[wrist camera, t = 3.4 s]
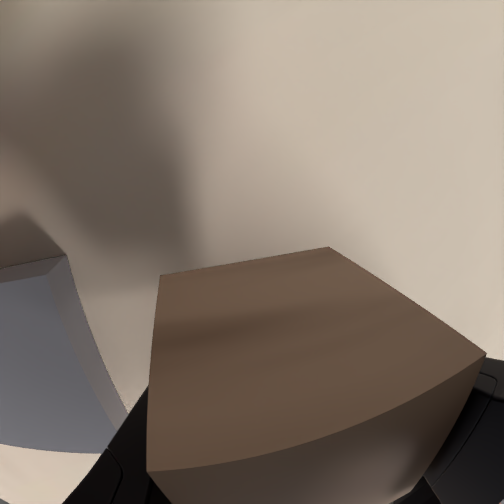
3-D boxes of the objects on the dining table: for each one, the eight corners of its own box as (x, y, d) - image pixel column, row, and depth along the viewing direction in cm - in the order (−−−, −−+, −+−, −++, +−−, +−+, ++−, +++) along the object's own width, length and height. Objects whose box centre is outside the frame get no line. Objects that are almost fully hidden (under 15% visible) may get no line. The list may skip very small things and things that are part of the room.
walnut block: (325, 372, 11) (410, 491, 5) (194, 402, 10) (223, 555, 4) (328, 246, 9) (486, 353, 3) (160, 275, 8) (146, 471, 2)
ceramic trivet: (133, 422, 15) (131, 452, 13) (5, 419, 13) (-4, 443, 11) (66, 255, 12) (46, 274, 9) (-65, 283, 10) (-87, 300, 7)
